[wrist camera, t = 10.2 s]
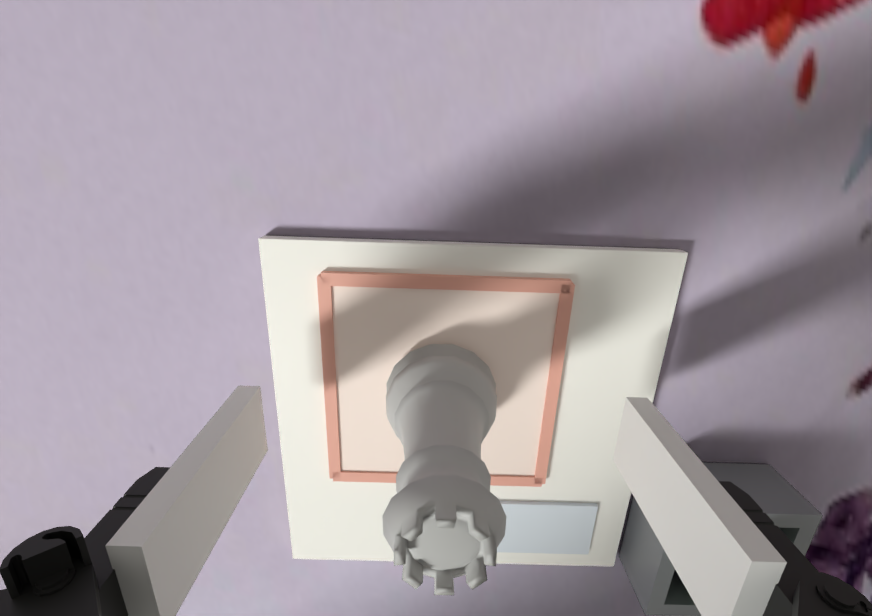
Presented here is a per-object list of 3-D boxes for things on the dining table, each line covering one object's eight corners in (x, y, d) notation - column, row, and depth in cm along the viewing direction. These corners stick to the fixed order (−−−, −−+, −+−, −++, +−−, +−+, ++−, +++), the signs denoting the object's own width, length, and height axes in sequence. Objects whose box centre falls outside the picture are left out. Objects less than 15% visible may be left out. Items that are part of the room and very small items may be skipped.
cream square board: (296, 548, 22) (291, 564, 21) (264, 235, 17) (254, 240, 16) (609, 556, 22) (615, 572, 21) (679, 249, 17) (692, 254, 16)
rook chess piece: (480, 440, 19) (510, 633, 11) (378, 422, 19) (340, 609, 11) (507, 349, 17) (562, 502, 10) (397, 328, 17) (367, 470, 10)
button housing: (618, 556, 22) (645, 615, 20) (641, 460, 20) (674, 511, 17) (734, 559, 22) (777, 618, 20) (769, 464, 20) (822, 515, 18)
